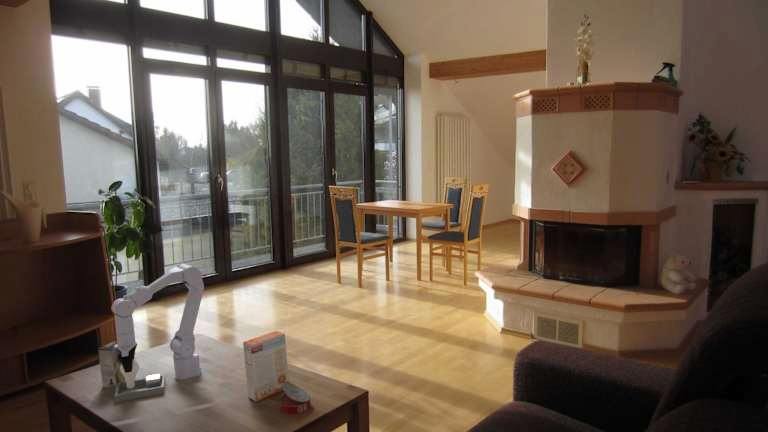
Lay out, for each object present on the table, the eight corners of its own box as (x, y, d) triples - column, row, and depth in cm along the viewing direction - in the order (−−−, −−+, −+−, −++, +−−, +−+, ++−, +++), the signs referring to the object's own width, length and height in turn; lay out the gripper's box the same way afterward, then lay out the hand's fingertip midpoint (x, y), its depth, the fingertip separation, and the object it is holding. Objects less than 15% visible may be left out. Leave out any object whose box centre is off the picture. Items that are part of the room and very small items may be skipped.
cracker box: (280, 383, 194) (276, 329, 191) (289, 388, 190) (286, 333, 187) (246, 397, 185) (242, 340, 182) (255, 403, 180) (251, 345, 177)
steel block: (161, 384, 195) (160, 373, 194) (160, 390, 191) (159, 378, 190) (148, 387, 193) (146, 375, 193) (147, 392, 189) (146, 380, 188)
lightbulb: (122, 393, 185) (120, 363, 184) (120, 387, 190) (118, 358, 189) (141, 389, 188) (139, 360, 187) (138, 383, 193) (137, 354, 192)
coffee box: (119, 378, 204) (114, 339, 202) (133, 379, 203) (129, 339, 201) (102, 389, 195) (97, 348, 193) (117, 390, 194) (112, 349, 192)
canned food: (294, 412, 182) (300, 383, 185) (313, 418, 176) (320, 387, 179) (268, 410, 174) (276, 379, 177) (288, 415, 168) (295, 383, 171)
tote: (165, 383, 198) (164, 374, 198) (164, 395, 188) (163, 386, 188) (119, 391, 193) (118, 382, 192) (115, 405, 183) (114, 395, 182)
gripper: (115, 327, 192) (119, 362, 194) (110, 340, 178) (114, 378, 180) (136, 324, 194) (140, 359, 196) (132, 337, 181) (137, 374, 182)
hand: (129, 368), depth 188 cm, fingers closed on lightbulb, 6 cm apart
